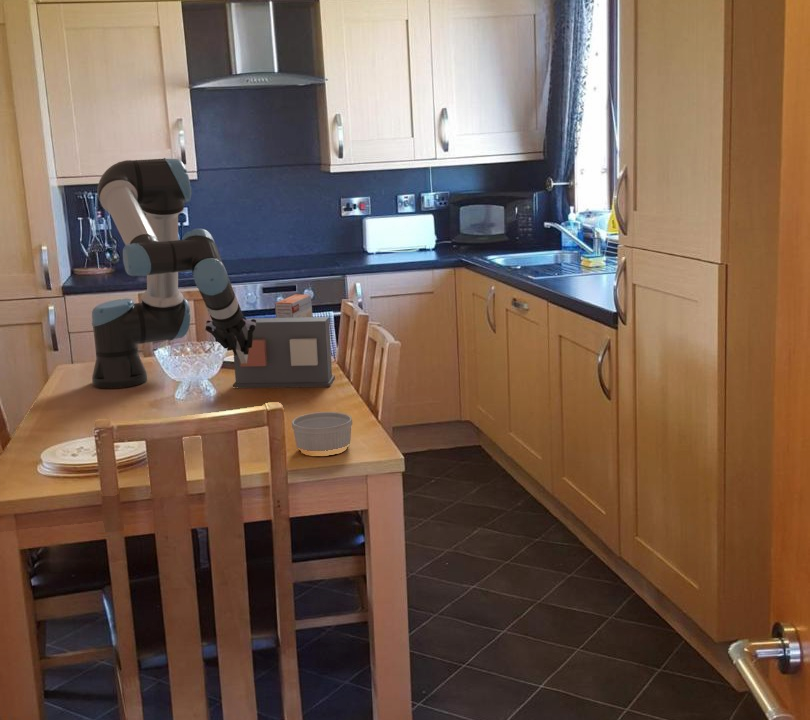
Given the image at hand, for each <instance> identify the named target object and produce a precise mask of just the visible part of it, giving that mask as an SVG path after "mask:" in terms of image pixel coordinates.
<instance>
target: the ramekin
mask: <svg viewBox="0 0 810 720" xmlns="http://www.w3.org/2000/svg"><path fill="white" fill-rule="evenodd" d="M352 418H353V417H352V416H350V415H349V414H347V413H344V412H335V411H321V412H320V411H319V412H311V413H306V414H302V415H299V416H297V417H295V418H294V419H292V421H291V428H292V430H293V434H294V441H295V445H296V448H297V447H298V448H300V449H303V450H307V451H325V450H326V451H328V450H333V449H338V448H342V447H345V446H347V445H348V444H350V445H351V439H352V438H351V437H352V425H353V419H352Z"/></svg>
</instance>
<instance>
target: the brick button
mask: <svg viewBox="0 0 810 720" xmlns="http://www.w3.org/2000/svg"><path fill="white" fill-rule="evenodd" d="M266 365H267V355H266V340H265V339H258V340H253V342H252V347H251V348H249V353H248V359H247V364H241V362H240V366H266Z"/></svg>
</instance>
